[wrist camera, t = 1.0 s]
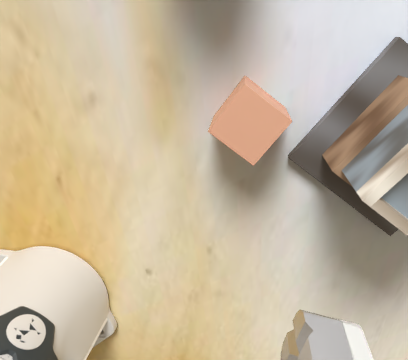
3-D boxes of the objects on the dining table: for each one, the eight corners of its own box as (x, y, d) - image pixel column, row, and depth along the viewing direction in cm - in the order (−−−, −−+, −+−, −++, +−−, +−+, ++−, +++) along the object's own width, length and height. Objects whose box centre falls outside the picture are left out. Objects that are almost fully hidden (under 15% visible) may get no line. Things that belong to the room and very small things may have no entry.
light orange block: (252, 145, 37) (253, 165, 31) (213, 116, 36) (207, 131, 30) (285, 107, 35) (292, 121, 29) (244, 75, 34) (244, 83, 29)
